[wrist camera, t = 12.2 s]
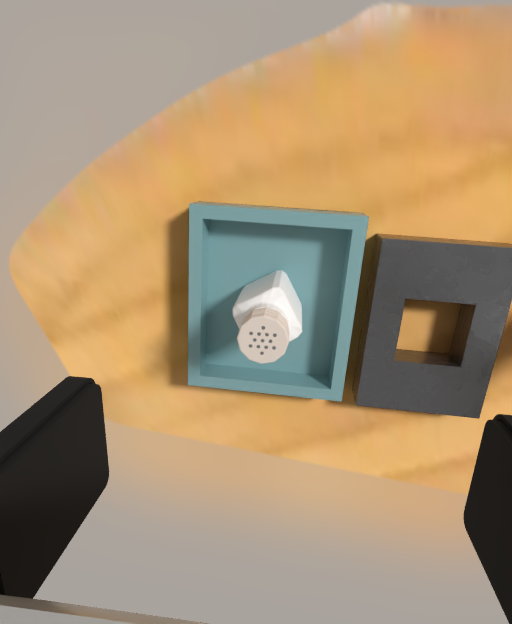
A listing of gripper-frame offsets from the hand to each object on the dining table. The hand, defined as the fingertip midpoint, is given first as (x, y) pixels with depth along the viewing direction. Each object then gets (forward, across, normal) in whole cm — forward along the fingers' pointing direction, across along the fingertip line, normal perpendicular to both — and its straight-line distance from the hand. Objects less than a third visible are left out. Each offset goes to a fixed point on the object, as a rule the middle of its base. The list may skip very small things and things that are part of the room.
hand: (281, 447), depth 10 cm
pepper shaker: (+24, +2, +3) cm, 25 cm away
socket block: (+25, -11, +5) cm, 28 cm away
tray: (+25, +2, +3) cm, 25 cm away
